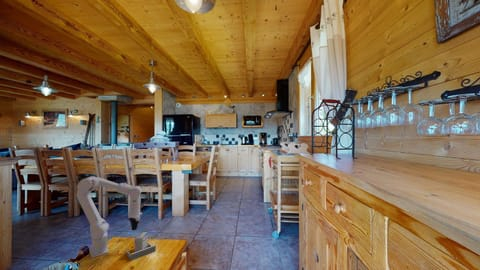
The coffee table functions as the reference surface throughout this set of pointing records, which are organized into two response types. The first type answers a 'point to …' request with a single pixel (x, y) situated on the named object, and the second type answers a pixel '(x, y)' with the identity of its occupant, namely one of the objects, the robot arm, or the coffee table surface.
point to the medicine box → (141, 241)
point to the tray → (141, 252)
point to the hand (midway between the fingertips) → (134, 229)
